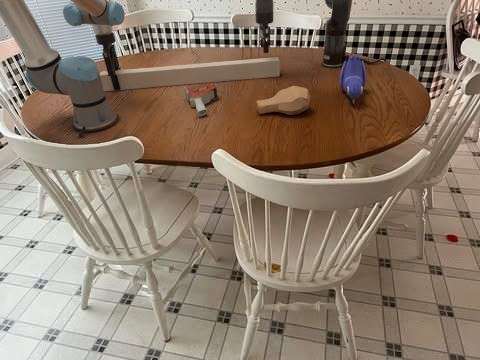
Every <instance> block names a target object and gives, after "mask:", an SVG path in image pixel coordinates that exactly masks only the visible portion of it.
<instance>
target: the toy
mask: <svg viewBox="0 0 480 360" xmlns="http://www.w3.org/2000/svg"><path fill="white" fill-rule="evenodd" d="M360 59H362V56H361V55H355V56H354V55H349V59H348V61H345V62H344V64H343V65H342V67H341V69H340V72H339V73H340V74H339V86H340V88H342V89H343V91H344V92H345V94H346V95H347V96H348V97H349V98H350V99H351V103H352V105H354V104H355V103H356V100H357V99H358V98H359V97H361V96H362V95H363V93H364V87H365V86H366V83H367V69H366V65H365V62H364V61H363V60H362V61H360Z"/></svg>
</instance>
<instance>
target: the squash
mask: <svg viewBox="0 0 480 360" xmlns="http://www.w3.org/2000/svg"><path fill="white" fill-rule="evenodd" d="M311 98H312V97H311V95H310V90H309V89H307V88H306V87H302V86H298V85H292V86H289V87H287V88H283V89H280V90H279V91H277V92H276V94H275V95H274V96H272V97H271V98H265V99H257V100H256V102H255V103H256V107H257V109H256V110H257V113H258V114H259V115H263V114H266V113H273V112H275V113H282V114H284V115H287V116H295V115H300V114H301V113H303V112H305V111H306V110H308V109H309V107H310V102H311Z"/></svg>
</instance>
